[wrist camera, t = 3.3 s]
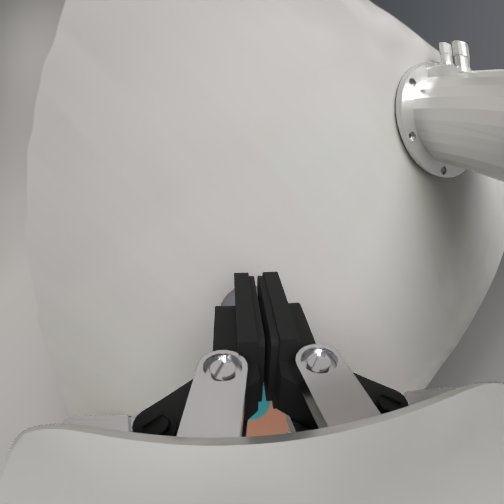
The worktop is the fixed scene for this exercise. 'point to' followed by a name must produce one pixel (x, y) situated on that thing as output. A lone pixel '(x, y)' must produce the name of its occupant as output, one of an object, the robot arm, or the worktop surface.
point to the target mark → (268, 424)
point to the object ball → (261, 407)
